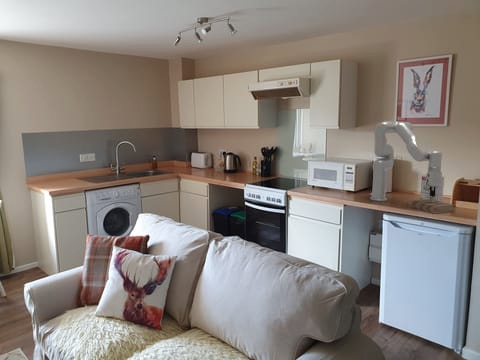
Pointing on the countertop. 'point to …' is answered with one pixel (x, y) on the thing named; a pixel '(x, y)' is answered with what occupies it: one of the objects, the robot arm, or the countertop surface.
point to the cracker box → (426, 192)
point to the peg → (431, 199)
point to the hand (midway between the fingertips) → (432, 195)
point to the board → (432, 206)
